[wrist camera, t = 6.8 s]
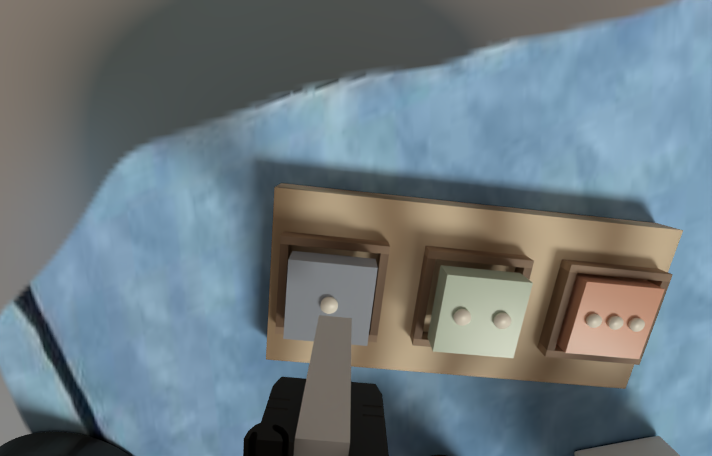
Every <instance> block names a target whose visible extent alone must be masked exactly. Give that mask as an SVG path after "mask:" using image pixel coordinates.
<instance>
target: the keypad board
mask: <svg viewBox="0 0 712 456" xmlns="http://www.w3.org/2000/svg"><path fill="white" fill-rule="evenodd" d="M682 232H683V230H680V229H676V228H672V227H669V226H665V225H661V224H658V223H652V222H642V221H633V220H623V219H614V218H605V217H595V216H586V215H576V214H567V213H558V212H548V211H539V210H529V209H520V208H510V207H501V206H492V205H482V204H473V203H463V202H454V201H445V200H435V199H426V198H416V197H407V196H398V195H388V194H379V193H369V192H360V191H350V190H341V189H332V188H322V187H313V186H303V185H294V184H285V183H280V184H279V185H277V186H276V187H275V189H274V209H273V229H272V249H271V269H270V289H269V310H268V330H267V350H266V359H268V360H281V361H293V362H305V363H310V359H311V353H312V348H313V343H314V341H303V340H291V339H283V336H284V321H285V305H286V289H287V273H288V259H289V257H290V255H291V253H292V251H299V252H309V253H320V254H330V255H340V256H351V257H361V258H371V259H376V263H377V267H378V269H377V277H376V284H375V292H374V299H373V306H372V314H371V321H370V329H369V336H368V344H367V346H362V345H351V366H354V367H366V368H379V369H391V370H403V371H415V372H428V373H440V374H452V375H464V376H476V377H489V378H501V379H513V380H525V381H538V382H550V383H562V384H574V385H587V386H599V387H611V388H623V389H625V388H626V386H627V383H628V380H629V377H630V375H631V372H632V369H633V366H634V364H636V365H639V364H640V362H641V359H642V356H643V353H644V351H645V348H646V345H647V343H648V340H649V337H650V334H651V332H652V329H653V326H654V324H655V321H656V318H657V315H658V313H659V310H660V307H661V305H662V302H663V299H664V296H665V294H666V291H667V288H668V286H669V283H670V280H671V277H672V274H670V273H668V270H669V268H670V265H671V262H672V259H673V257H674V254H675V251H676V248H677V246H678V243H679V240H680V237H681V235H682ZM441 265H443V266H454V267H464V268H474V269H485V270H495V271H505V272H516V273H521V274H522V275H523V276H525V277H526V278H527V279H529V280H530V281H531V282H532V283H533V285H532V288H531V292H530V296H529V300H528V304H527V308H526V312H525V315H524V319H523V323H522V327H521V331H520V335H519V338H518V342H517V346H516V350H515V354H514V358H504V357H492V356H480V355H468V354H456V353H445V352H433V350H432V348H431V345H430V343H429V340H428V338H427V337H428V331H429V326H430V320H431V315H432V309H433V304H434V299H435V293H436V288H437V282H438V277H439V271H440V266H441ZM577 273H583V274H594V275H604V276H614V277H624V278H634V279H645V280H647V281H649V282H651V283H653V284H655V285H657V286H659V287H661V288H663V289H665V290H664V293H663V296H662V299H661V301H660V304H659V307H658V309H657V312H656V315H655V318H654V320H653V323H652V326H651V329H650V331H649V334H648V337H647V339H646V342H645V345H644V348H643V350H642V353H641V356H640V358H639V359H630V358H619V357H607V356H596V355H584V354H572V353H565V352H564V351H563V350H562V349H561V348H560V347H559V346H558V345H557V340H558V337H559V333H560V330H561V326H562V323H563V320H564V316H565V313H566V309H567V306H568V303H569V299H570V296H571V292H572V289H573V285H574V282H575V279H576V275H577Z"/></svg>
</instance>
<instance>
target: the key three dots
mask: <svg viewBox="0 0 712 456" xmlns="http://www.w3.org/2000/svg"><path fill="white" fill-rule="evenodd" d="M664 290H665V289H663V288H661V287H659V286H657V285H655V284H653V283H651V282H649V281H647V280H645V279H634V278H624V277H614V276H604V275H594V274H583V273H577V275H576V279H575V282H574V285H573V289H572V292H571V296H570V299H569V303H568V306H567V309H566V313H565V316H564V320H563V323H562V326H561V330H560V333H559V337H558V340H557V345H558V346H559V347H560V348H561V349H562V350H563V351H564V352H565V353H572V354H584V355H596V356H607V357H619V358H630V359H639V358H640V356H641V353H642V350H643V348H644V345H645V342H646V339H647V337H648V334H649V331H650V329H651V326H652V323H653V320H654V318H655V315H656V312H657V309H658V307H659V304H660V301H661V299H662V296H663V293H664Z"/></svg>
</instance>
